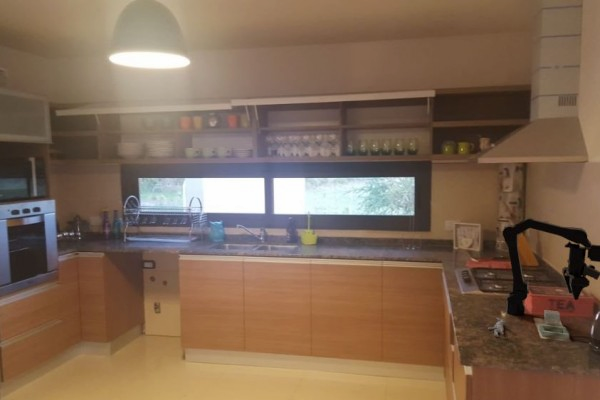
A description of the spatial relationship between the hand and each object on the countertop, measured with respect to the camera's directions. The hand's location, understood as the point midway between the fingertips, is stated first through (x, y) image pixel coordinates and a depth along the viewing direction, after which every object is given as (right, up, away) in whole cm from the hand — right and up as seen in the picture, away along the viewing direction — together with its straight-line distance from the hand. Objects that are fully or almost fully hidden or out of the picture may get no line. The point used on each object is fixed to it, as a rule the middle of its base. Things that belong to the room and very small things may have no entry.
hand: (573, 296), depth 187 cm
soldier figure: (-33, -13, -7) cm, 37 cm away
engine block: (-9, -11, -1) cm, 15 cm away
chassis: (-13, -13, -6) cm, 19 cm away
